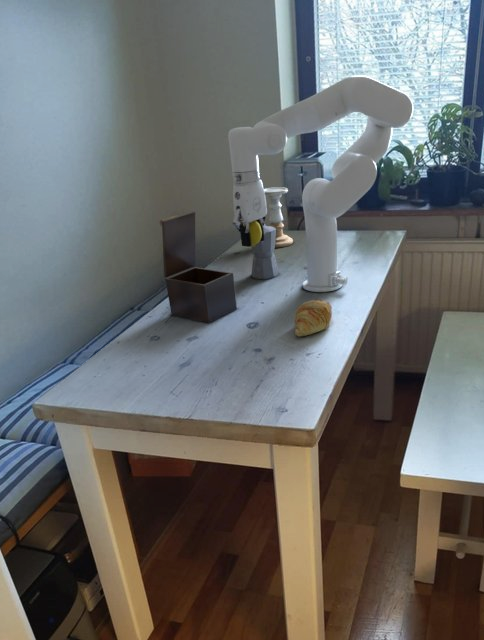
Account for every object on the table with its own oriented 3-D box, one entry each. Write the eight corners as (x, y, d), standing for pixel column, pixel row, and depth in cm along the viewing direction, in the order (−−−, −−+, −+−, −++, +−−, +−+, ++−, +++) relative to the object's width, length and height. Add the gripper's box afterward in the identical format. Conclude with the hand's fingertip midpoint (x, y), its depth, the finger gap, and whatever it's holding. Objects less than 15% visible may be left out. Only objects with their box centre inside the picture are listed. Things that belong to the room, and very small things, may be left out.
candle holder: (264, 240, 247) (260, 187, 236) (294, 239, 245) (292, 185, 234) (260, 248, 237) (255, 193, 226) (291, 247, 235) (288, 191, 224)
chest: (236, 309, 180) (233, 272, 174) (209, 323, 172) (204, 285, 166) (199, 301, 188) (194, 266, 182) (171, 314, 179) (165, 278, 174)
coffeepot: (277, 280, 201) (274, 224, 191) (249, 281, 202) (244, 225, 192) (280, 267, 214) (277, 213, 204) (253, 268, 214) (249, 215, 205)
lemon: (265, 244, 181) (262, 216, 176) (259, 249, 176) (256, 220, 172) (248, 244, 182) (245, 216, 178) (241, 249, 178) (238, 221, 174)
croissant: (309, 353, 157) (321, 329, 152) (276, 333, 158) (288, 308, 153) (335, 322, 173) (348, 299, 168) (306, 304, 174) (317, 281, 169)
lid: (195, 212, 172) (182, 207, 174) (163, 221, 163) (150, 217, 165) (195, 265, 182) (183, 261, 184) (166, 277, 173) (153, 272, 175)
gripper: (237, 183, 161) (245, 252, 171) (275, 171, 172) (280, 236, 182) (216, 183, 165) (225, 250, 175) (254, 171, 176) (260, 235, 186)
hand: (253, 242), depth 179 cm, fingers closed on lemon, 5 cm apart
